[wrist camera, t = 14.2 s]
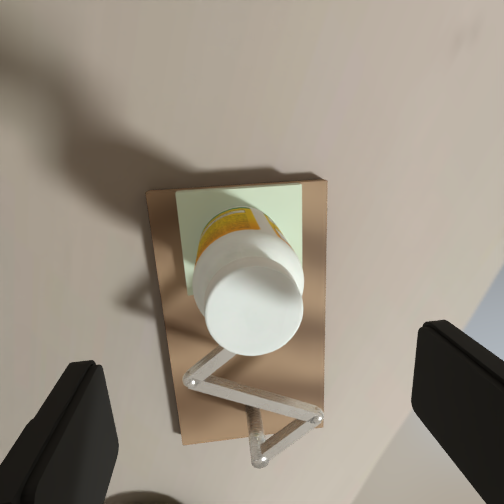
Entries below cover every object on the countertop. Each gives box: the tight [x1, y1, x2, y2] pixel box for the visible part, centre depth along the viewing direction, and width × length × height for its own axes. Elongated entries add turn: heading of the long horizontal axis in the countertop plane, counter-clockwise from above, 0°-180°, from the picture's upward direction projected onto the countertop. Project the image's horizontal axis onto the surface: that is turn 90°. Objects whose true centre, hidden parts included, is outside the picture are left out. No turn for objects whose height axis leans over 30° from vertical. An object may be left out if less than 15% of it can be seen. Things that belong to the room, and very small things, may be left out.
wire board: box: [145, 179, 327, 445], centre depth 26 cm, size 21×12×1 cm, turn 3°
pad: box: [175, 183, 302, 296], centre depth 23 cm, size 7×8×1 cm
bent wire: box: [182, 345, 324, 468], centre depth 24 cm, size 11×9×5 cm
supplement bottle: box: [192, 206, 304, 356], centre depth 18 cm, size 5×5×10 cm
